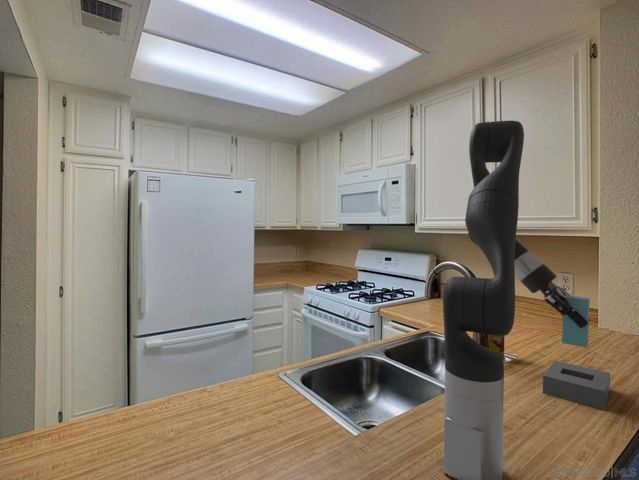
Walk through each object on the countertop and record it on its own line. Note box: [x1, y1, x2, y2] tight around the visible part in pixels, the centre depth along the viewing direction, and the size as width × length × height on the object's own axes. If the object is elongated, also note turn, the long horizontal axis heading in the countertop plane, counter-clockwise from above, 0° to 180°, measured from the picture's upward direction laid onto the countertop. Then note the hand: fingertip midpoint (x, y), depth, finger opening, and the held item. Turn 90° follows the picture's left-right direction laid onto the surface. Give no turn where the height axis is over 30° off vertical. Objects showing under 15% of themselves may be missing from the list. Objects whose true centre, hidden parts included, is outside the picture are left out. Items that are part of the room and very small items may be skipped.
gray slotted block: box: [542, 360, 611, 411], centre depth 87 cm, size 14×12×4 cm
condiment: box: [488, 334, 506, 364], centre depth 111 cm, size 7×8×12 cm
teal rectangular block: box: [561, 295, 591, 349], centre depth 87 cm, size 3×5×12 cm, turn 46°
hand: (585, 324), depth 86 cm, fingers closed on teal rectangular block, 3 cm apart
